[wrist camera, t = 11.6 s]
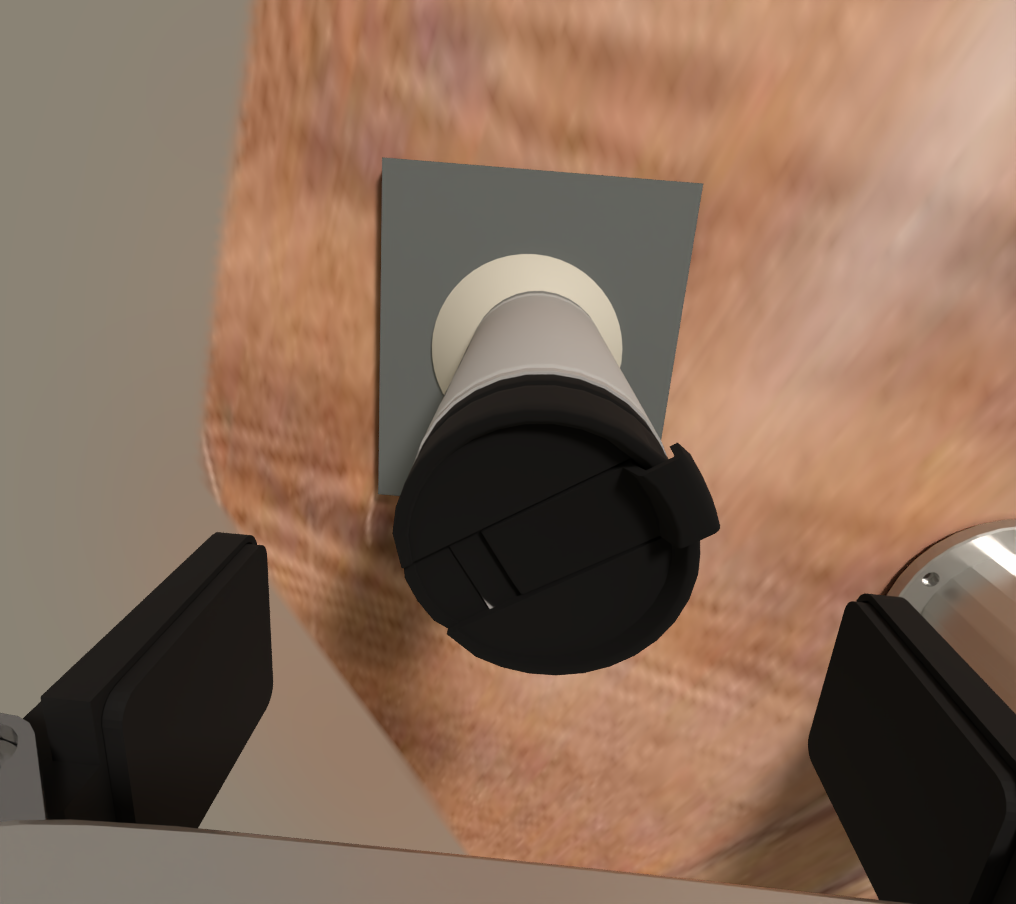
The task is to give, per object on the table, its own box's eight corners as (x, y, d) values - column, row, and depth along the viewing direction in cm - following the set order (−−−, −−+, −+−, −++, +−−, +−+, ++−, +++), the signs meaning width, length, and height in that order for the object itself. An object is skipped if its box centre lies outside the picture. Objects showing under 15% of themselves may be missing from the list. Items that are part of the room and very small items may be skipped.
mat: (644, 506, 36) (649, 518, 34) (383, 485, 36) (377, 495, 34) (696, 184, 30) (704, 183, 29) (387, 159, 30) (381, 157, 29)
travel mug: (631, 379, 32) (776, 620, 13) (511, 442, 33) (482, 744, 14) (571, 260, 30) (636, 339, 11) (446, 331, 31) (315, 509, 12)
